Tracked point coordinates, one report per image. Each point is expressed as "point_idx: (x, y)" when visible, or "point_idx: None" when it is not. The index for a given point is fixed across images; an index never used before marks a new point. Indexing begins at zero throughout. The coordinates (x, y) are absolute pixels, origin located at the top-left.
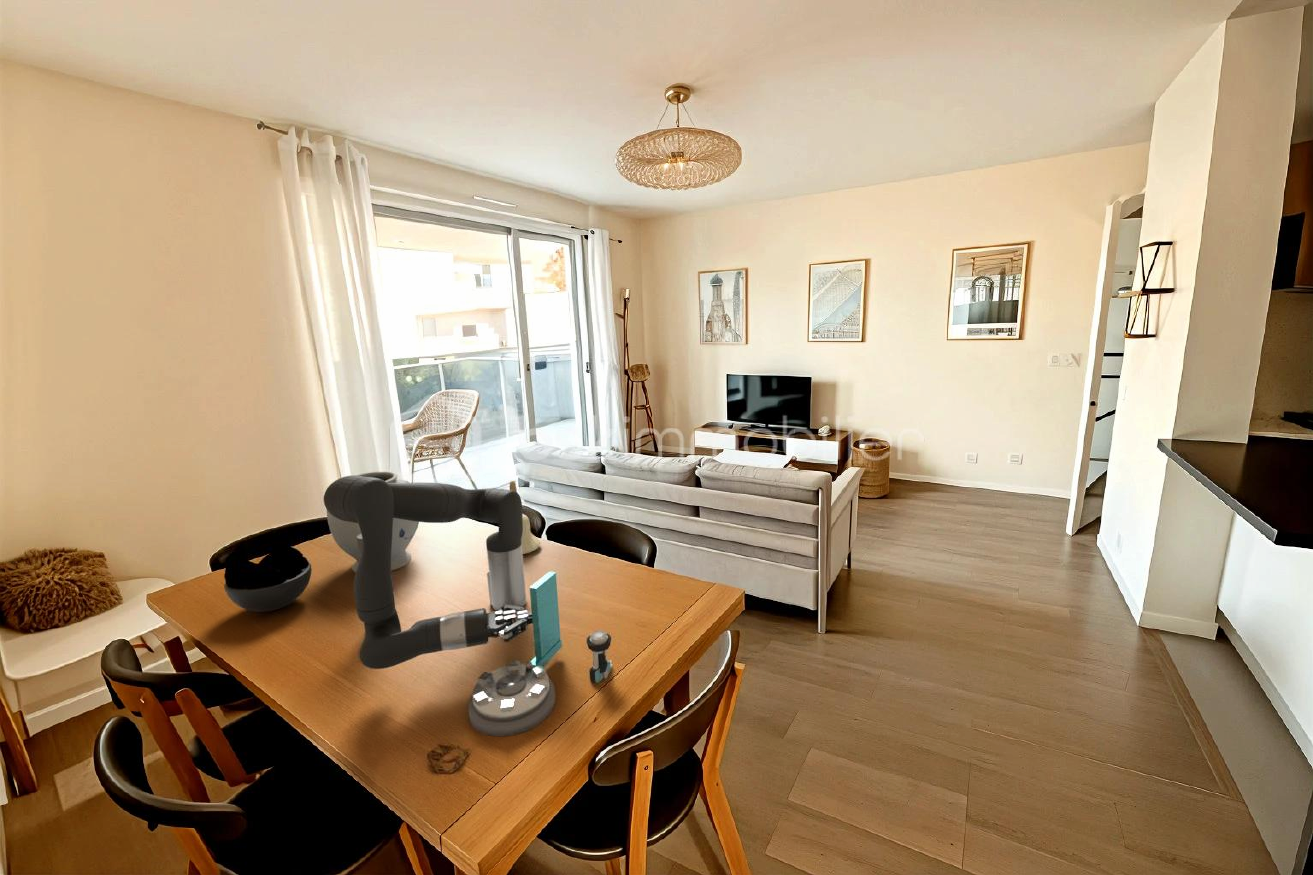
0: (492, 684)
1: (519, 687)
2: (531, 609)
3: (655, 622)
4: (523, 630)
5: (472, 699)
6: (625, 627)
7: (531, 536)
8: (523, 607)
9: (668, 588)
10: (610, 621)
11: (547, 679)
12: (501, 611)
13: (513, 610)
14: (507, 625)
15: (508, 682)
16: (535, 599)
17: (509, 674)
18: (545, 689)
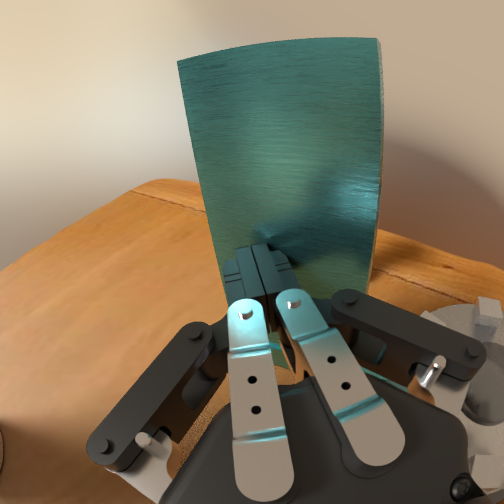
0: (493, 441)
1: (500, 349)
2: (378, 184)
3: (184, 223)
4: (362, 332)
5: (494, 496)
6: (179, 253)
7: None
8: (186, 325)
9: (103, 219)
10: (146, 273)
11: (439, 311)
12: (249, 449)
13: (237, 363)
14: (392, 385)
15: (493, 386)
16: (383, 108)
17: (464, 402)
18: (470, 305)
